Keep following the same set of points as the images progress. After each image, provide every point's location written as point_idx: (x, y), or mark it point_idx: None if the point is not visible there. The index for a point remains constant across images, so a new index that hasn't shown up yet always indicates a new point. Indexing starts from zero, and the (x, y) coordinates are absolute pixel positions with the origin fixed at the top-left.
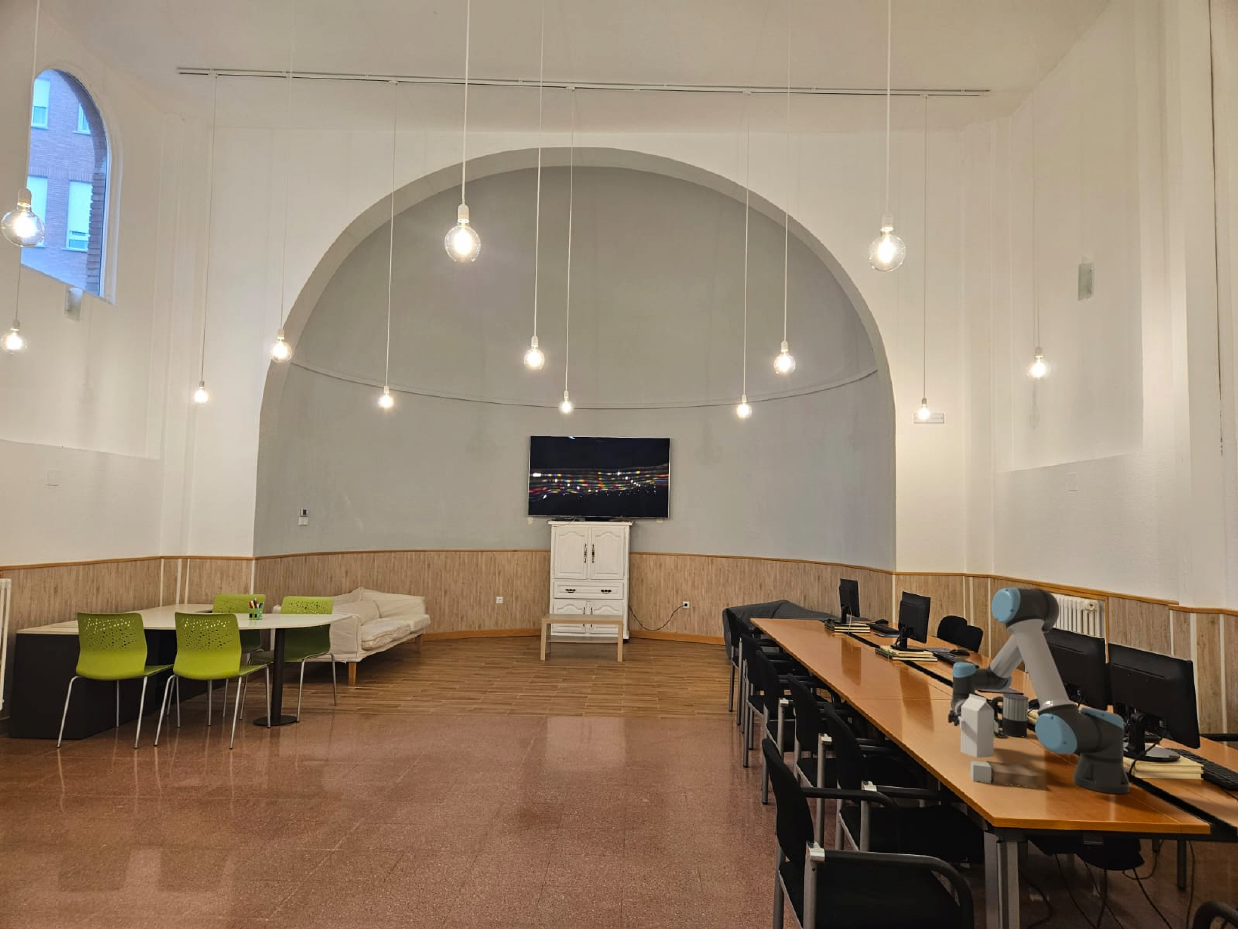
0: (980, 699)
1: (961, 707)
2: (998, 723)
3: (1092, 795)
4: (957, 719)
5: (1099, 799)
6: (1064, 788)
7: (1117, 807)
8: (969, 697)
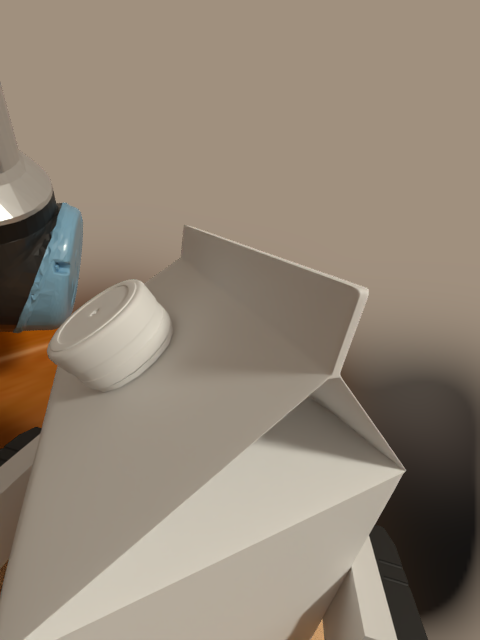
0: (208, 266)
1: (395, 475)
2: (8, 449)
3: (2, 379)
4: (379, 552)
5: (22, 365)
6: (17, 414)
7: (42, 342)
8: (332, 368)
